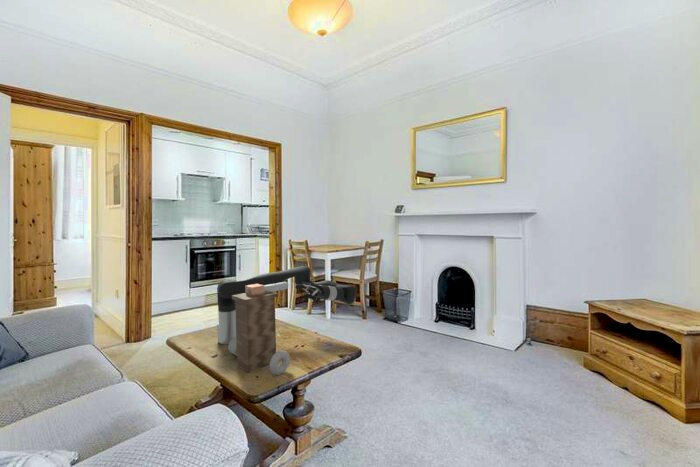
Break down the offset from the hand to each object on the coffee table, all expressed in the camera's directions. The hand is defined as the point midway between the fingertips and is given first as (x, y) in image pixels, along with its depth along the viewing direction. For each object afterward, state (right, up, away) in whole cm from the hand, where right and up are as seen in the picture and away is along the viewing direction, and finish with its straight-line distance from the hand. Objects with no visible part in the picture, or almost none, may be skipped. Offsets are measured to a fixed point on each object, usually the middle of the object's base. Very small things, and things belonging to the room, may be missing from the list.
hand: (300, 291), depth 159 cm
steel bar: (-14, +1, -6) cm, 15 cm away
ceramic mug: (-29, -31, +2) cm, 43 cm away
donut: (-6, -32, -19) cm, 38 cm away
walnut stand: (-18, -32, -10) cm, 38 cm away
